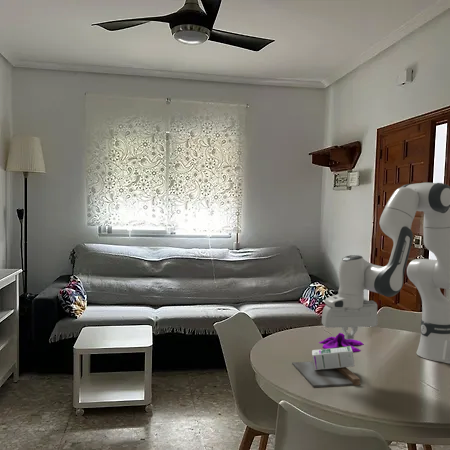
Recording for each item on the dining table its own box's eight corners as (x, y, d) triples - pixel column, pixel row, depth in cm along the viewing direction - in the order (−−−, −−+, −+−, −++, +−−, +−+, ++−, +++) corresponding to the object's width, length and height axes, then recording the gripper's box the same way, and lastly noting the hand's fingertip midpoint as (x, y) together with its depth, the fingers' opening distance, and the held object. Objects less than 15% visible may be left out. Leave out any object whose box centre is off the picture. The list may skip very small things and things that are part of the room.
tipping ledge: (333, 362, 175) (333, 357, 174) (359, 384, 153) (360, 378, 153) (292, 363, 172) (292, 358, 172) (313, 387, 150) (313, 381, 150)
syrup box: (352, 350, 161) (311, 354, 164) (355, 367, 161) (313, 370, 164) (351, 345, 167) (311, 349, 169) (353, 361, 167) (313, 365, 169)
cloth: (363, 342, 203) (363, 328, 203) (366, 355, 185) (367, 340, 184) (312, 338, 208) (312, 324, 207) (311, 350, 190) (311, 336, 189)
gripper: (373, 298, 168) (371, 335, 168) (320, 299, 164) (319, 337, 165) (381, 302, 161) (380, 340, 162) (327, 302, 158) (326, 342, 158)
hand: (349, 338), depth 163 cm, fingers closed
